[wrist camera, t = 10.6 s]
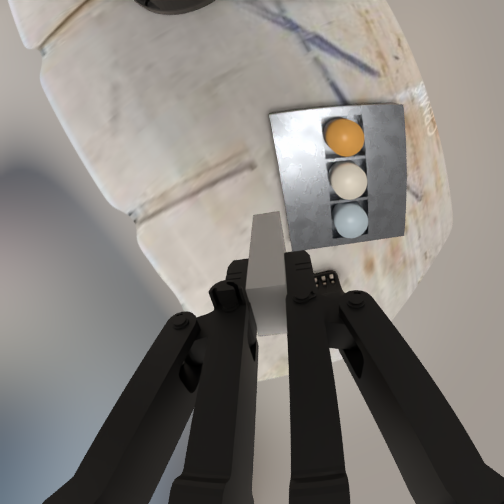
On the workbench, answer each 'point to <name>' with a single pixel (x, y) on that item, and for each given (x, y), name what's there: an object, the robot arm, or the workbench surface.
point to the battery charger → (328, 284)
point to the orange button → (343, 136)
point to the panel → (323, 157)
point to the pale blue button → (349, 219)
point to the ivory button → (347, 179)
